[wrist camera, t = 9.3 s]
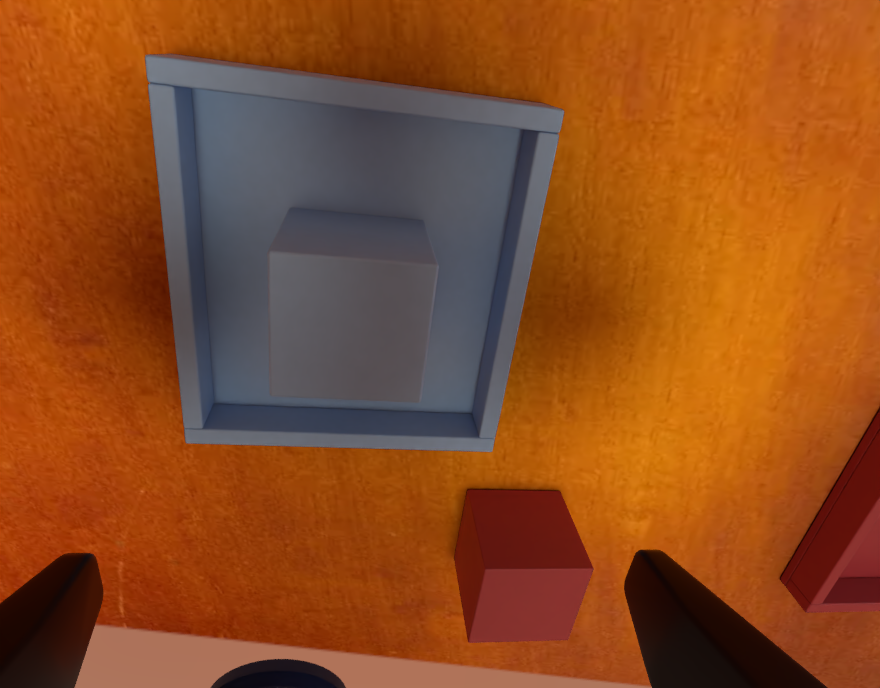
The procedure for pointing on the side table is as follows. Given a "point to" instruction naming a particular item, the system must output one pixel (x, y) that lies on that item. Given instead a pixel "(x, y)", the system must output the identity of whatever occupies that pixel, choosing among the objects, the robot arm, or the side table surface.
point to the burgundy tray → (843, 540)
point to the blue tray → (346, 191)
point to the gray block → (349, 306)
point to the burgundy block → (519, 566)
